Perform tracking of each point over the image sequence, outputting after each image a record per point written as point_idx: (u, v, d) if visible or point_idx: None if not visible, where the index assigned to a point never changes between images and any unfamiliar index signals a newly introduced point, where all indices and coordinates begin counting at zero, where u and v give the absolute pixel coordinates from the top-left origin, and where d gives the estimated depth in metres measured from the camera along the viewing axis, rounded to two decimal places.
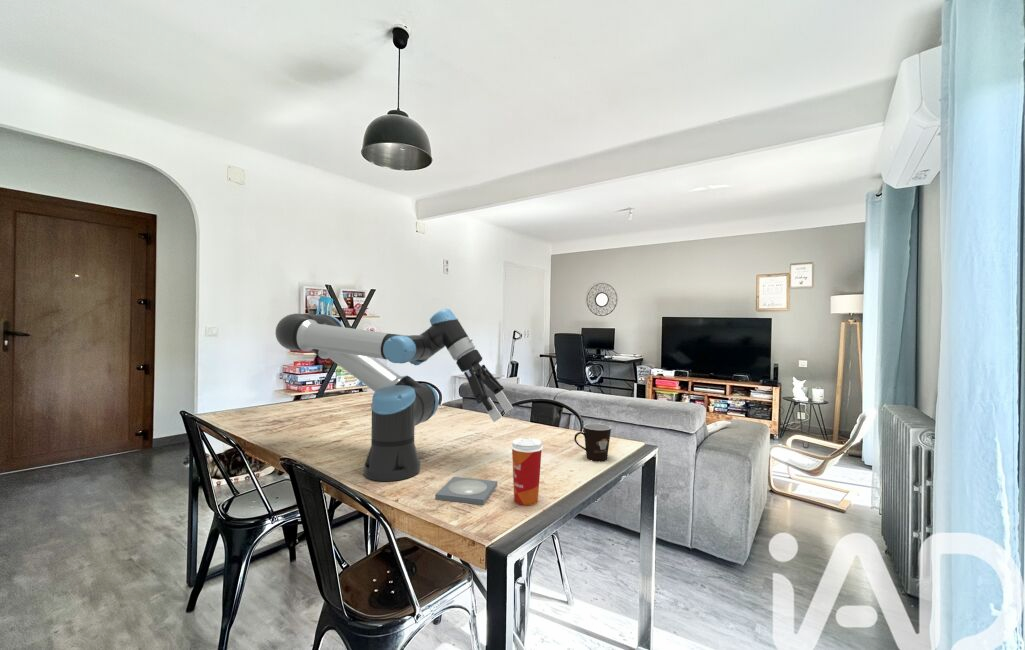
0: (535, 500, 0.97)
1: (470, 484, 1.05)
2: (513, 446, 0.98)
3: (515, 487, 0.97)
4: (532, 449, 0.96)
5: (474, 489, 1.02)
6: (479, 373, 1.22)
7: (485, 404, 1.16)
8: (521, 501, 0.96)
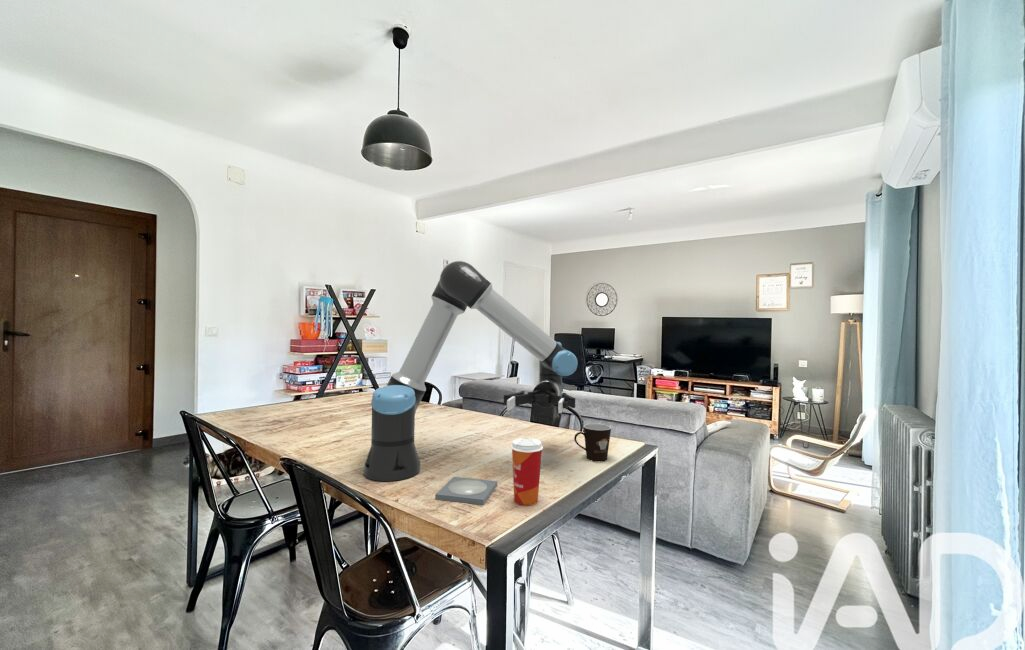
0: (535, 500, 0.97)
1: (470, 484, 1.05)
2: (513, 446, 0.98)
3: (515, 487, 0.97)
4: (532, 449, 0.96)
5: (474, 489, 1.02)
6: None
7: (567, 403, 1.12)
8: (521, 501, 0.96)
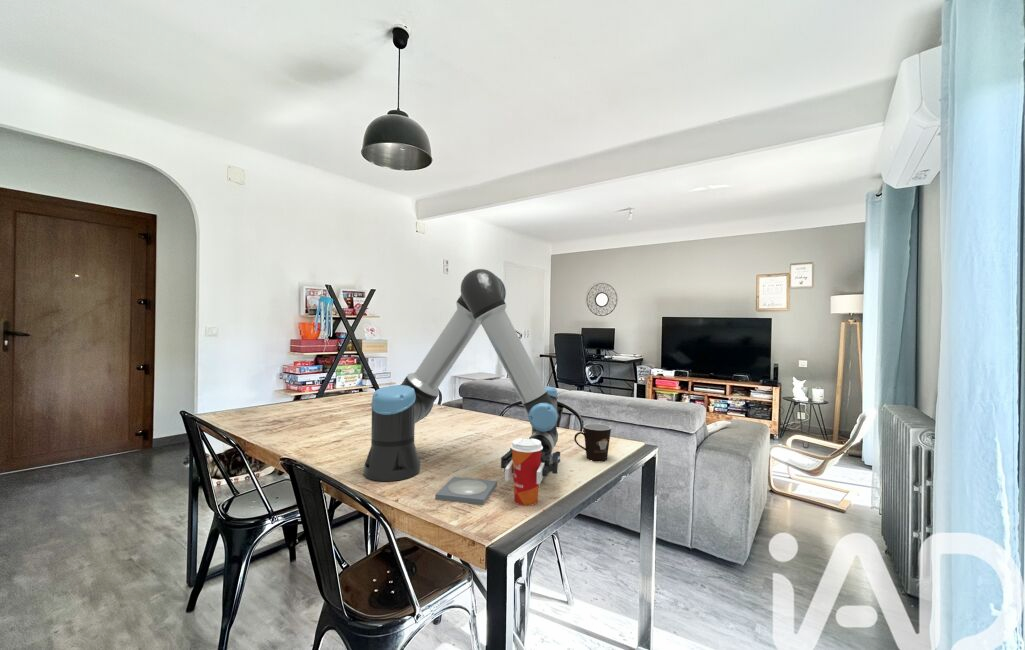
0: (535, 500, 0.97)
1: (470, 484, 1.05)
2: (513, 446, 0.98)
3: (515, 487, 0.97)
4: (532, 449, 0.96)
5: (474, 489, 1.02)
6: None
7: (548, 469, 0.98)
8: (521, 501, 0.96)
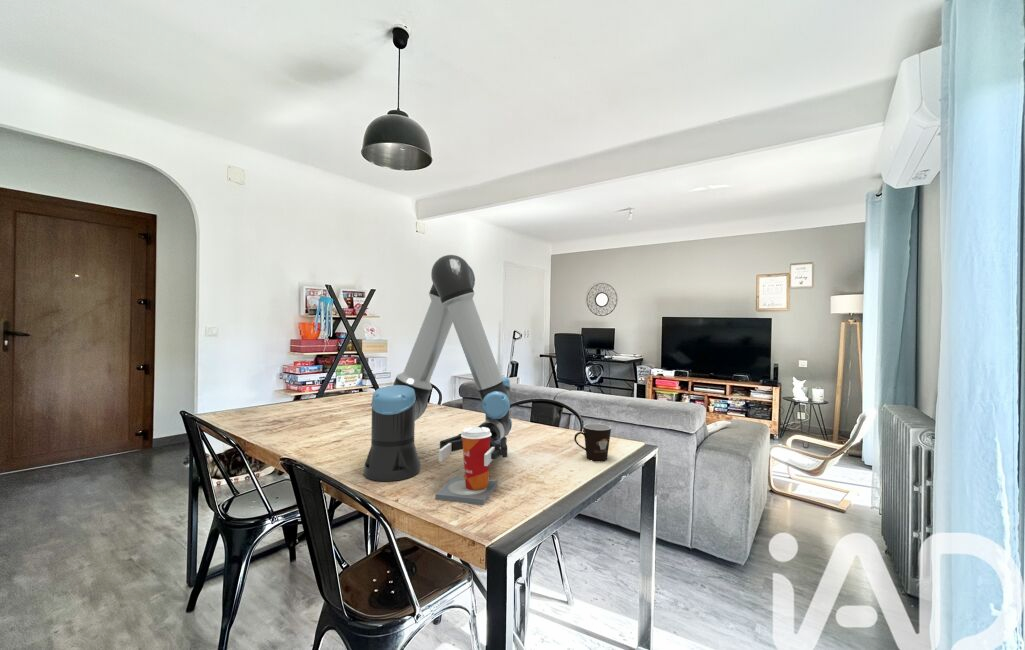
0: (485, 485, 1.02)
1: None
2: (462, 434, 1.03)
3: (465, 473, 1.02)
4: (479, 435, 1.01)
5: None
6: None
7: (497, 453, 1.03)
8: (471, 486, 1.01)
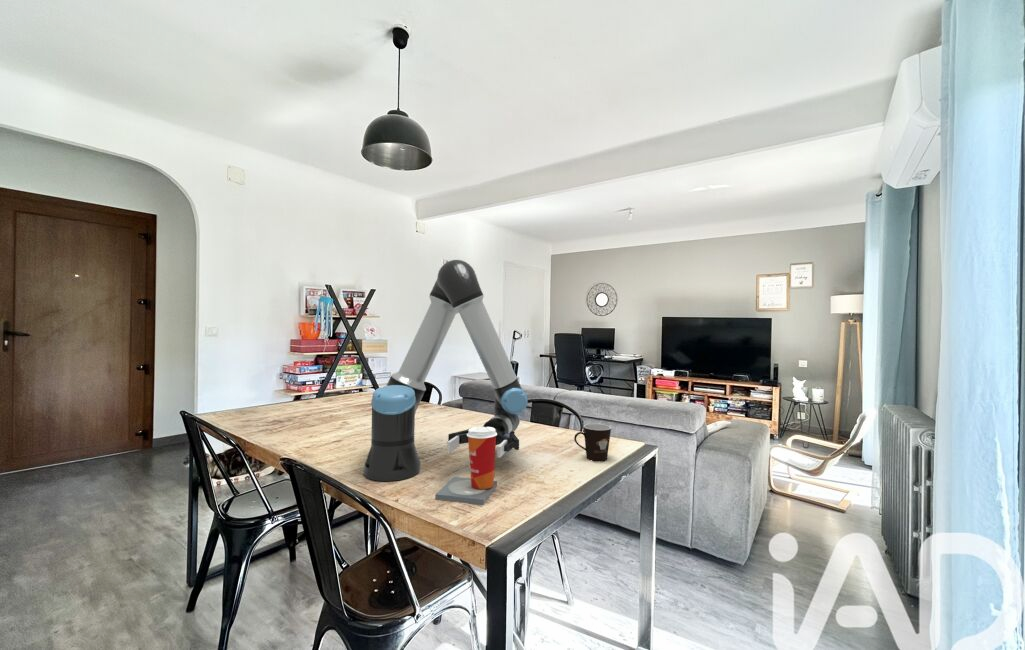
0: (491, 484, 1.02)
1: (470, 484, 1.05)
2: (468, 434, 1.03)
3: (471, 473, 1.03)
4: (486, 435, 1.01)
5: (474, 489, 1.02)
6: None
7: (510, 445, 1.09)
8: (477, 485, 1.02)
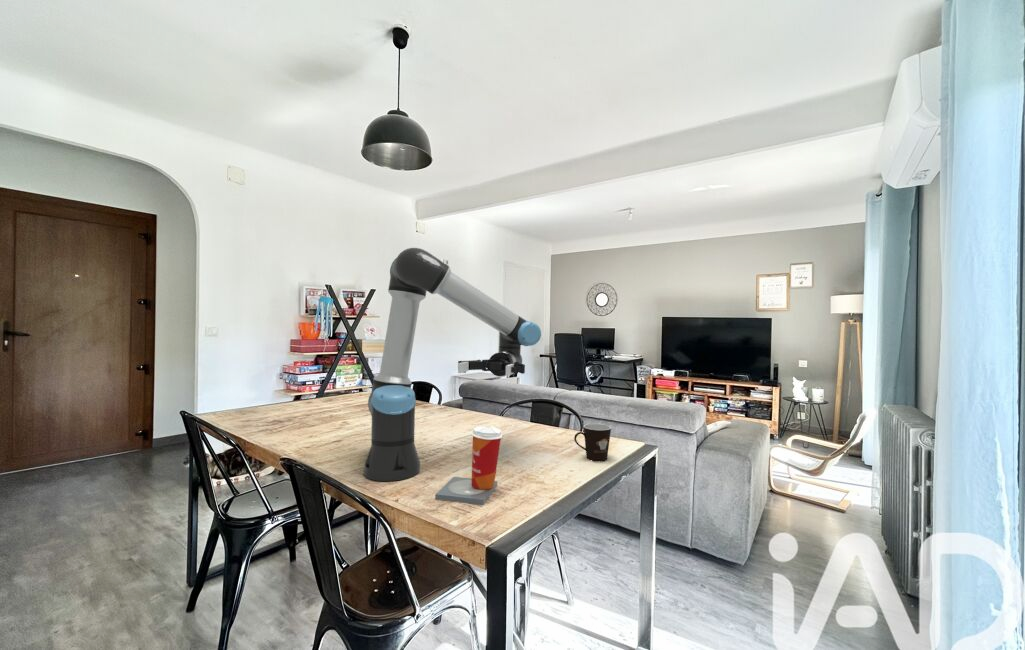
0: (491, 485, 1.02)
1: (470, 484, 1.05)
2: (474, 433, 1.03)
3: (473, 472, 1.02)
4: (491, 436, 1.01)
5: (474, 489, 1.02)
6: None
7: (516, 368, 1.17)
8: (477, 485, 1.02)
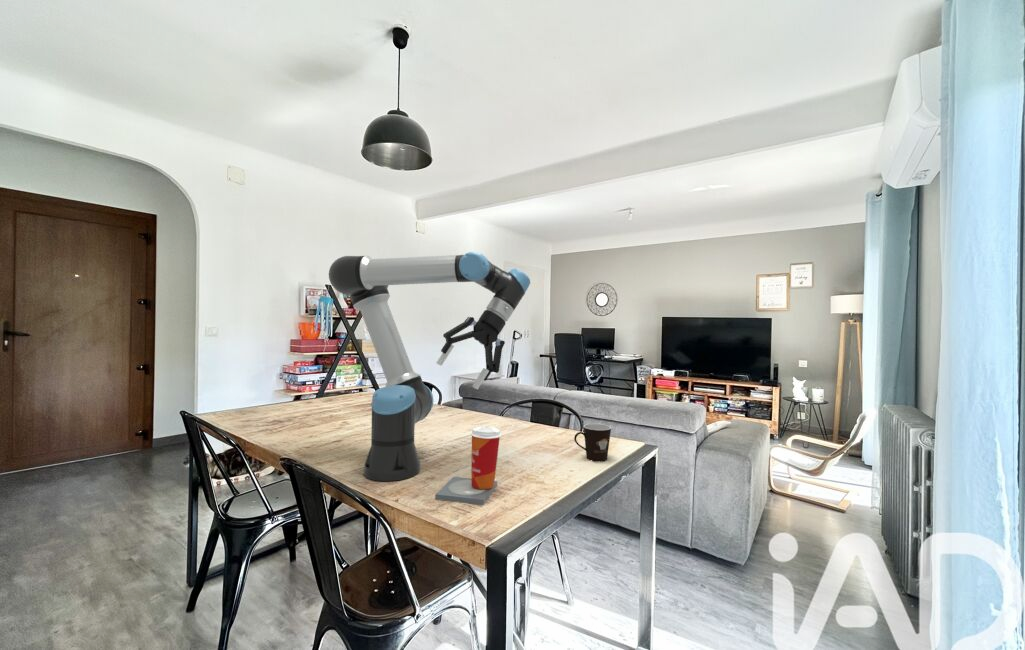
0: (491, 485, 1.02)
1: (470, 484, 1.05)
2: (473, 433, 1.03)
3: (473, 472, 1.03)
4: (490, 435, 1.01)
5: (474, 489, 1.02)
6: (478, 331, 1.20)
7: (445, 345, 1.17)
8: (477, 485, 1.02)
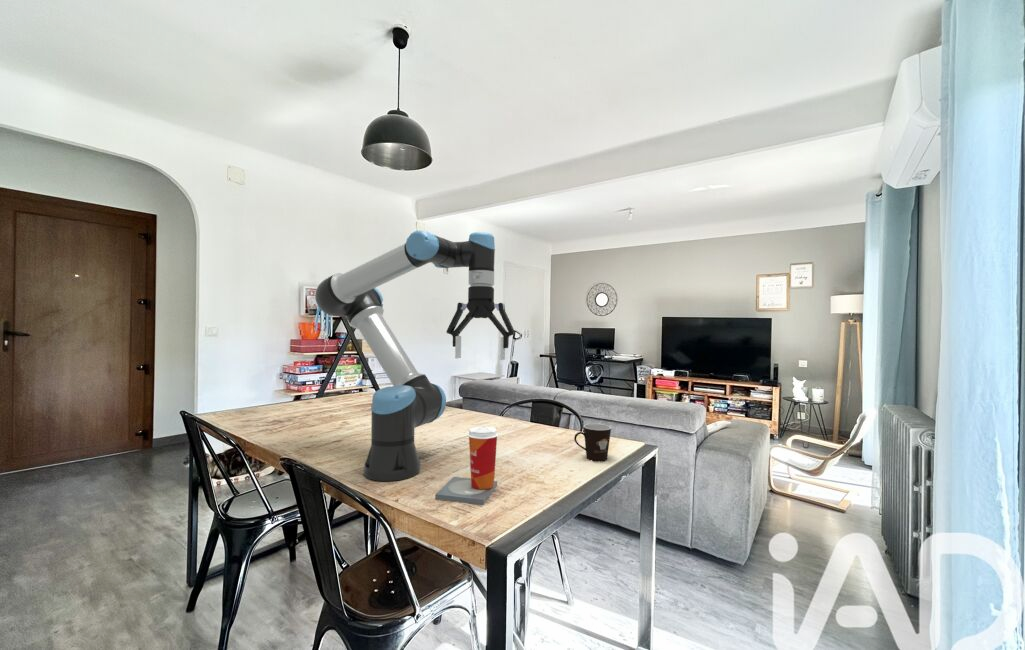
0: (491, 485, 1.02)
1: (470, 484, 1.05)
2: (470, 434, 1.03)
3: (472, 473, 1.03)
4: (487, 435, 1.01)
5: (474, 489, 1.02)
6: None
7: None
8: (477, 486, 1.02)
